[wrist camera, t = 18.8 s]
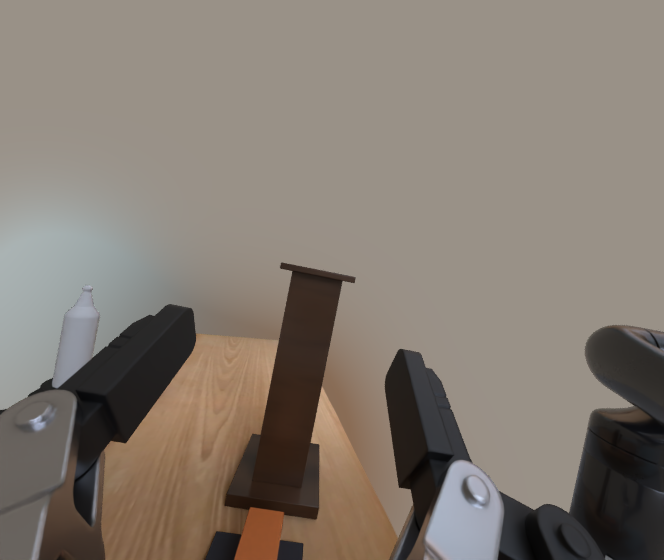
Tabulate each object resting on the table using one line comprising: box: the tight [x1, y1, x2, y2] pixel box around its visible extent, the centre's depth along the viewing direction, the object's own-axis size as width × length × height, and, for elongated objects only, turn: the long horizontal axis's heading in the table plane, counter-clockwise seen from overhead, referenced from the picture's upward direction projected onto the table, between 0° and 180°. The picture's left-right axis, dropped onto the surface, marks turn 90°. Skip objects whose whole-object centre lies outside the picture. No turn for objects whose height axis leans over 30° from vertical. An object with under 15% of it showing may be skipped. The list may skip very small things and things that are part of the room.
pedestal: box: [225, 263, 355, 519], centre depth 38 cm, size 12×12×32 cm
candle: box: [28, 285, 100, 397], centre depth 29 cm, size 5×5×25 cm
